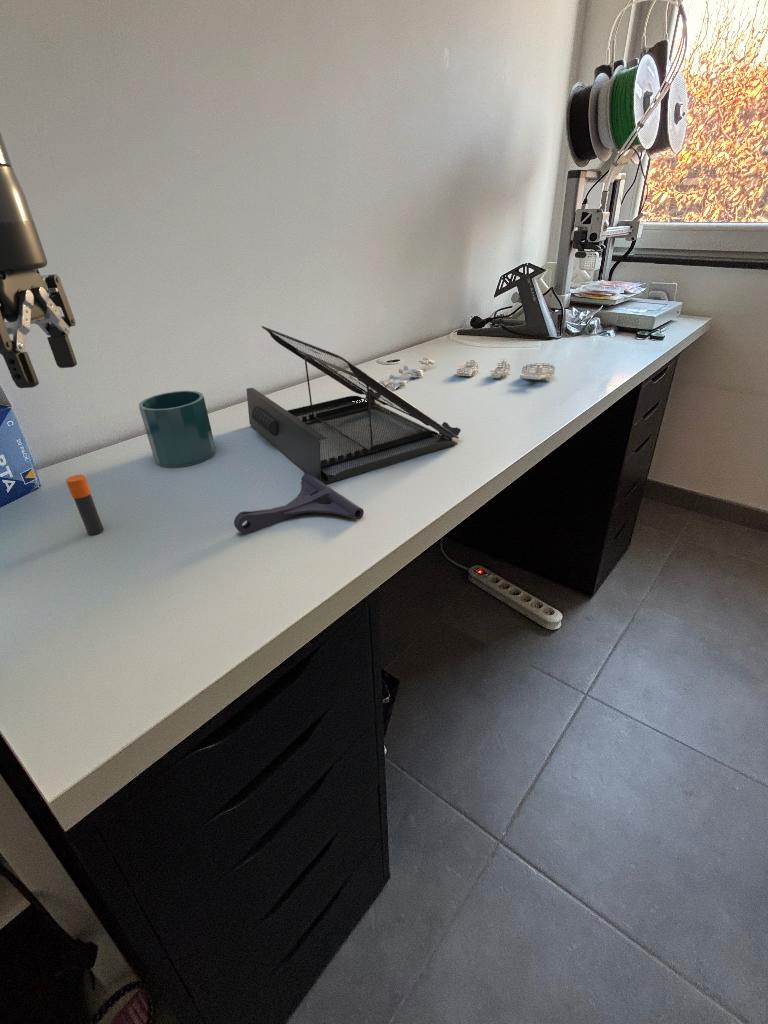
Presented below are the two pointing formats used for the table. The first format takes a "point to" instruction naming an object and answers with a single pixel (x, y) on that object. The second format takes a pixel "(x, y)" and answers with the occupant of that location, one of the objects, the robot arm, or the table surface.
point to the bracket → (300, 506)
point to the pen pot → (178, 428)
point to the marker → (85, 503)
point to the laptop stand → (305, 440)
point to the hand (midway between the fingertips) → (49, 376)
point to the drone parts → (470, 369)
